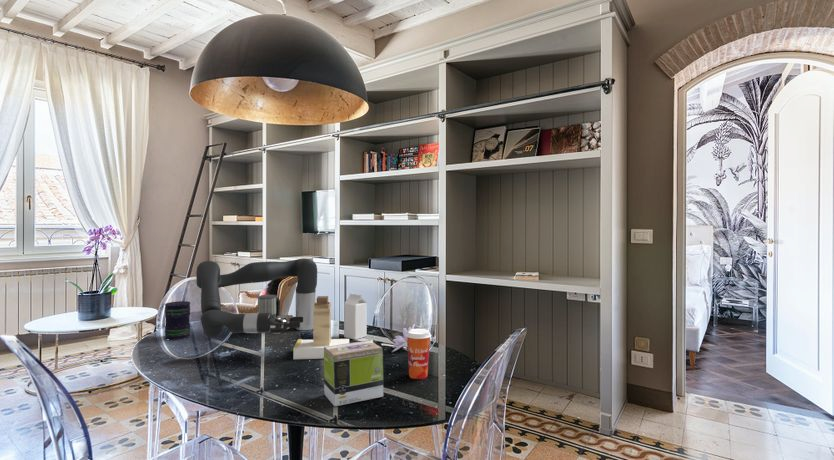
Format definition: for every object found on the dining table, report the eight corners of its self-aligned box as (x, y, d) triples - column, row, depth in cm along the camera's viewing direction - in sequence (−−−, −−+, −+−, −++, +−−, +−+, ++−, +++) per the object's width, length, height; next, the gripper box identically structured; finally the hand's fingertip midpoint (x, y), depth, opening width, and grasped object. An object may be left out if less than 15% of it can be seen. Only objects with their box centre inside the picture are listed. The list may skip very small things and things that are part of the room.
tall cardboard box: (315, 341, 173) (315, 302, 172) (330, 341, 173) (330, 302, 173) (313, 345, 167) (313, 305, 166) (329, 345, 167) (329, 304, 167)
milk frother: (273, 328, 209) (273, 297, 209) (240, 328, 209) (240, 297, 209) (282, 322, 223) (282, 292, 223) (250, 322, 223) (250, 292, 223)
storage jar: (162, 337, 193) (162, 302, 193) (186, 333, 199) (186, 300, 199) (168, 341, 185) (167, 306, 185) (193, 337, 192) (193, 303, 192)
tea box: (370, 386, 137) (370, 339, 137) (383, 398, 128) (384, 347, 128) (323, 395, 130) (323, 345, 130) (333, 407, 121) (333, 354, 121)
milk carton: (355, 340, 190) (355, 296, 190) (343, 337, 195) (344, 294, 194) (366, 336, 196) (366, 294, 196) (355, 334, 200) (355, 292, 200)
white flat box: (298, 349, 175) (298, 339, 175) (349, 348, 177) (349, 338, 177) (293, 359, 163) (293, 347, 163) (348, 357, 165) (348, 346, 165)
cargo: (317, 306, 172) (317, 296, 172) (328, 306, 172) (328, 296, 172) (316, 308, 168) (316, 297, 168) (327, 308, 168) (327, 297, 168)
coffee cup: (403, 379, 143) (404, 333, 143) (407, 371, 151) (408, 327, 151) (429, 381, 142) (430, 334, 141) (432, 372, 150) (432, 328, 150)
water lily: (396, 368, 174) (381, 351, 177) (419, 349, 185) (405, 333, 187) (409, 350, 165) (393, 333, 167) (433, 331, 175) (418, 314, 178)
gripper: (253, 317, 160) (299, 316, 162) (262, 309, 174) (304, 308, 176) (253, 337, 160) (298, 336, 162) (262, 328, 174) (304, 327, 176)
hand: (301, 322), depth 169 cm, fingers open, 8 cm apart
